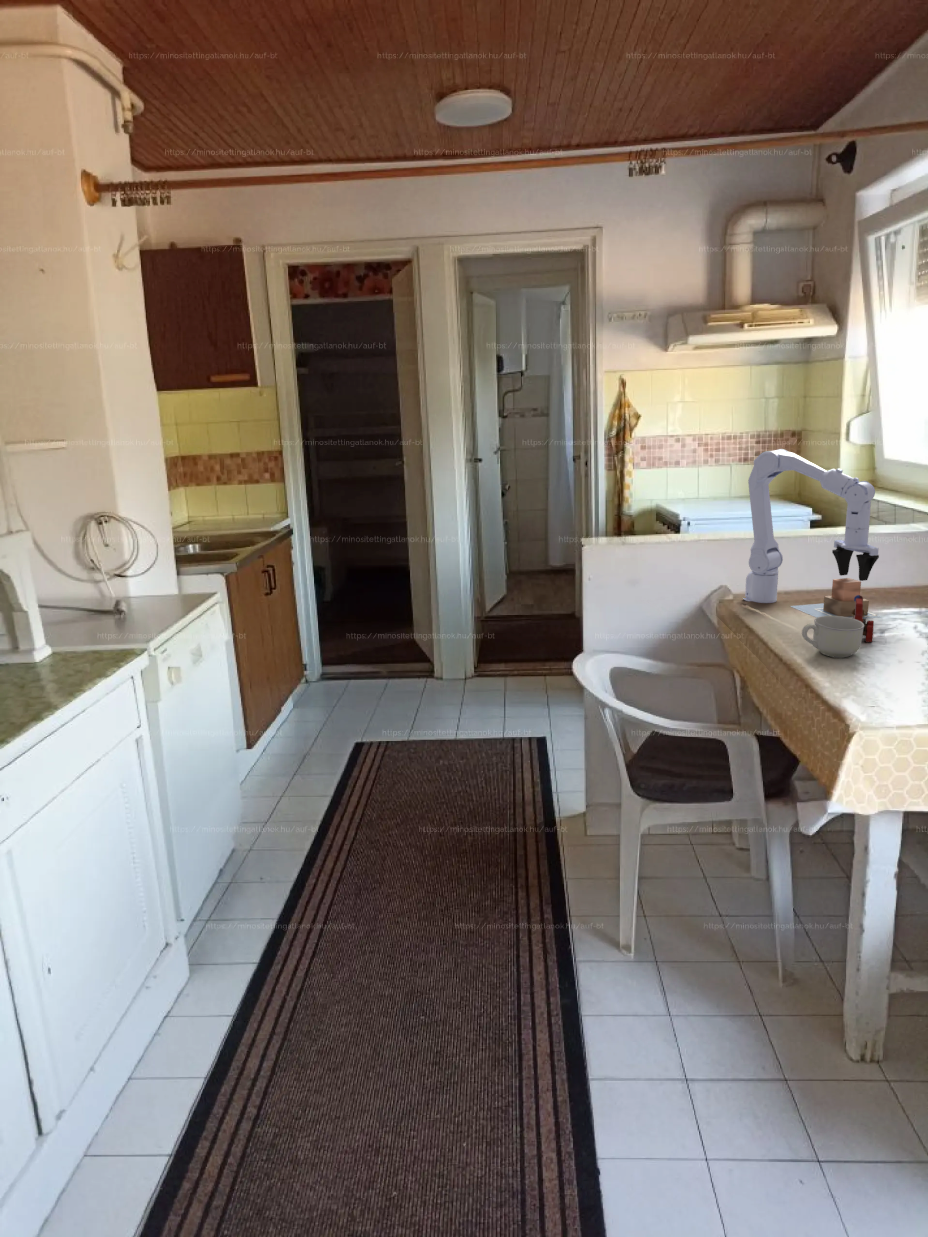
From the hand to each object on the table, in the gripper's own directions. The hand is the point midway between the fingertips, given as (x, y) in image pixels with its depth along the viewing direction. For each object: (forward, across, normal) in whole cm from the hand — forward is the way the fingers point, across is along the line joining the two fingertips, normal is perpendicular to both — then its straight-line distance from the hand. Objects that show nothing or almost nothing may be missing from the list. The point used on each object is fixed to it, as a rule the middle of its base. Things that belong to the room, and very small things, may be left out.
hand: (853, 577), depth 228 cm
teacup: (+11, +27, -28) cm, 41 cm away
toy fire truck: (+11, +19, -14) cm, 25 cm away
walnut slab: (+10, 0, -2) cm, 10 cm away
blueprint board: (+10, -2, -3) cm, 11 cm away
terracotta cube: (+6, 0, -2) cm, 6 cm away
